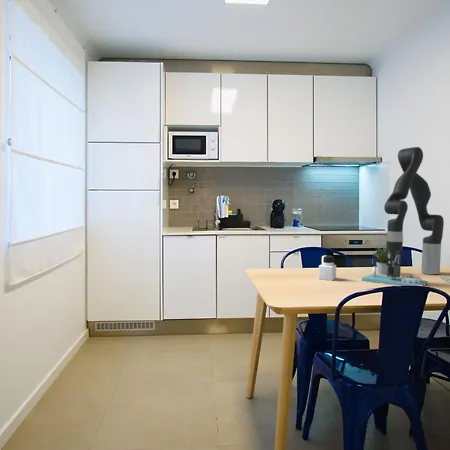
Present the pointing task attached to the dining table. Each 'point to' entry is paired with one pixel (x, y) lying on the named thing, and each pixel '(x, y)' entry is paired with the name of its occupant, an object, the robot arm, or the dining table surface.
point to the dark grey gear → (395, 272)
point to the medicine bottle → (327, 268)
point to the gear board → (394, 279)
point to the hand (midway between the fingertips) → (393, 273)
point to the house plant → (381, 260)
